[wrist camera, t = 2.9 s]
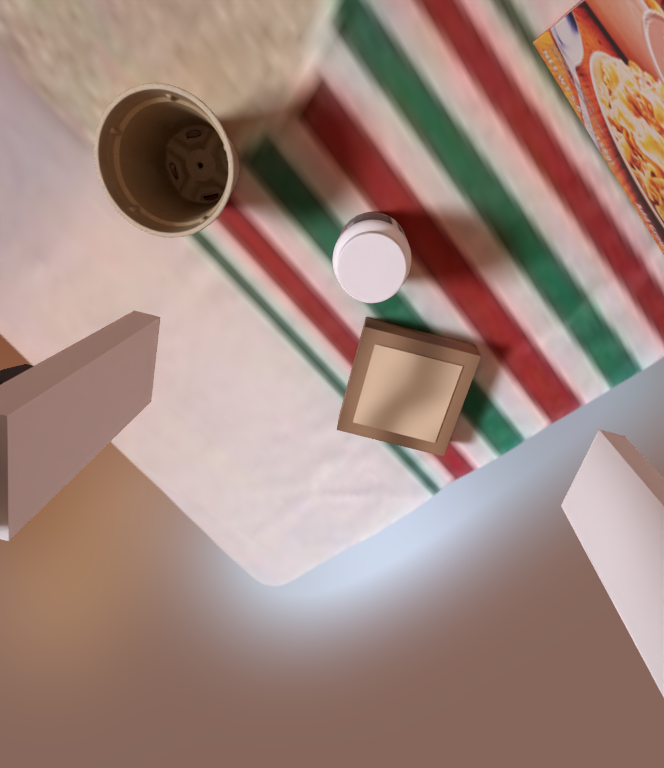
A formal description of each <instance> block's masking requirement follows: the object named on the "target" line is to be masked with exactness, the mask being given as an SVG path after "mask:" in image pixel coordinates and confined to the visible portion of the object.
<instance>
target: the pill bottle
mask: <svg viewBox="0 0 664 768" xmlns="http://www.w3.org/2000/svg"><path fill="white" fill-rule="evenodd" d="M410 268H411V250H410V246H409V243H408V241H407V238H406V236H405V233H404V231H403V229H402V227H401V226H400V225H399V224H398V223H397V222H396V221H395V220H394V219H393V218H391V217H390V216H388V215H386V214H383V213H379V212H367V213H363V214H360V215H358V216H356V217H354V218H353V219H351V220H350V221H349V222H348V223H347V224H346V226H345V227H344V228H343V230H342V232H341V234H340V236H339V238H338V241H337V242H336V245H335V248H334V252H333V269H334V272H335V275H336V277H337V280H338V281H339V283H340V284H341V286H342V287H343V289H344V290H345V291H346V292H347V293H348V294H349V295H350V296H351V297H353V298H354V299H356V300H358V301H361V302H365V303H377V302H381V301H384V300H387V299H388V298H390V297H392V296H393V295H394V294H395V293H396V292H397V291H398V290H399V289H400V287H401V286H402V285H403V284H404V282H405V280H406V279H407V277H408V275H409V272H410Z"/></svg>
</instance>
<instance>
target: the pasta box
mask: <svg viewBox="0 0 664 768" xmlns="http://www.w3.org/2000/svg"><path fill="white" fill-rule="evenodd" d="M533 44H534V45H535V47H536V48H537V50H538V52H539V53H540V55H541V57H542V58H543V60H544V61H545V63H546V65H547V66H548V68H549V69H550V71H551V73H552V74H553V76H554V78H555V79H556V81H557V82H558V84H559V86H560V87H561V89H562V91H563V92H564V94H565V95H566V97H567V99H568V100H569V102H570V104H571V105H572V107H573V108H574V110H575V112H576V113H577V115H578V116H579V118H580V120H581V121H582V123H583V125H584V126H585V128H586V129H587V131H588V133H589V134H590V136H591V138H592V139H593V141H594V142H595V144H596V146H597V147H598V149H599V151H600V152H601V154H602V155H603V157H604V159H605V160H606V162H607V163H608V165H609V167H610V168H611V170H612V172H613V173H614V175H615V176H616V178H617V180H618V181H619V183H620V185H621V186H622V188H623V189H624V191H625V193H626V194H627V196H628V198H629V199H630V201H631V202H632V204H633V206H634V207H635V209H636V210H637V212H638V214H639V215H640V217H641V219H642V220H643V222H644V223H645V225H646V227H647V228H648V230H649V232H650V233H651V235H652V236H653V238H654V240H655V241H656V243H657V245H658V246H659V248H660V249H661V251H662V253H663V254H664V0H581V1H580V2H578V3H577V4H576V5H575V6H574V7H573V8H572V9H570V10H569V11H568V12H567V13H566V14H565V15H564V16H562V17H561V18H560V19H559V20H558V21H557V22H556V23H554V24H553V25H552V26H551V27H550V28H549V29H548V30H546V31H545V32H544V33H543V34H542V35H541V36H540V37H538V38H537V39H536V40H535V41H534V42H533Z"/></svg>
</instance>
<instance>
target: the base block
mask: <svg viewBox="0 0 664 768" xmlns="http://www.w3.org/2000/svg"><path fill="white" fill-rule="evenodd" d="M480 358H481V355H480V353H479V351H478V350H477V348H476V346H475V345H473V344H469V343H465V342H461V341H458V340H454V339H450V338H446V337H442V336H438V335H434V334H430V333H426V332H422V331H418V330H414V329H410V328H406V327H402V326H398V325H395V324H391V323H387V322H383V321H379V320H375V319H371V318H367V317H366V319H365V322H364V326H363V330H362V333H361V337H360V341H359V344H358V348H357V352H356V355H355V359H354V363H353V366H352V370H351V374H350V377H349V381H348V385H347V388H346V392H345V396H344V400H343V403H342V407H341V411H340V414H339V420H338V426H337V430H340V431H344V432H348V433H352V434H356V435H360V436H364V437H368V438H372V439H376V440H380V441H384V442H388V443H392V444H396V445H400V446H404V447H408V448H412V449H416V450H420V451H424V452H428V453H432V454H436V455H440V456H444V454H445V451H446V448H447V446H448V443H449V440H450V438H451V435H452V432H453V430H454V427H455V424H456V422H457V419H458V416H459V414H460V411H461V408H462V406H463V403H464V401H465V398H466V395H467V393H468V390H469V387H470V385H471V382H472V379H473V377H474V374H475V371H476V369H477V366H478V363H479V361H480Z"/></svg>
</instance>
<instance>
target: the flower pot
mask: <svg viewBox="0 0 664 768" xmlns="http://www.w3.org/2000/svg"><path fill="white" fill-rule="evenodd" d="M196 130H199V131H200V134H201V135H200V136H197V137H192V138H189V139H188V138H187V136H186V133H187V132H188V131H196ZM226 153H227V154H226ZM226 159H228V161H227V160H226ZM94 160H95V168H96V171H97V175H98V178H99V181H100V184H101V186H102V188H103V190H104V192H105V194H106V196H107V198H108V200H109V201H110V203H111V204H112V205H113V207H114V208H115V209H116V211H117V212H118V213H120V214H121V215H122V216H123V217H124V219H126V220H127V221H128V222H129V223H130V224H132V225H133V226H135V227H137V228H139V229H140V230H142V231H144V232H147V233H149V234H152V235H155V236H160V237H168V238H174V237H183V236H187V235H191V234H194V233H196V232H198V231H200V230H202V229H204V228H205V227H207V226H208V225H210V224H211V223H212V222H213V221H214V220H215V219H216V218H217V217H218V216H219V215H220V214H221V212H222V211H223V209H224V208H225V206H226V204H227V202H228V200H229V197H230V194H231V193H232V192H233V190H234V188H235V186H236V184H237V181H238V178H239V159H238V155H237V152H236V149H235V147H234V145H233V143H232V142H231V140H230V139H229V138H228V136H227V134H226V132H225V130H224V128H223V126H222V125H221V123H220V121H219V120H218V118H217V117H216V116H215V114H214V113H213V112H212V111H211V110H210V109H209V107H207V106H206V105H205V104H204V103H203V102H202V101H201V100H200V99H198V98H197V97H195V96H194V95H192V94H191V93H189V92H187V91H185V90H183V89H181V88H178V87H175V86H172V85H168V84H160V83H148V84H142V85H138V86H135V87H133V88H130V89H128V90H126V91H125V92H123V93H121V94H120V95H119V96H117V97H116V98H115V99H114V101H113V102H112V103H111V104H110V105H109V106H108V107H107V108H106V110H105V112H103V114H102V116H101V119H100V121H99V123H98V126H97V129H96V133H95V140H94ZM200 162H201V163H202V164H203V167H202V168H199V167H198V164H199V163H200ZM171 163H173V164H175V166H176V172H177V175H178V179H177V180H176V178H175V177H174V175H173V172H172V170H171V166H170V164H171ZM215 193H217V194H218V198H216V199H214V200H210V201H207V200H205V199H204V196H207V195H212V194H215Z"/></svg>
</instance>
